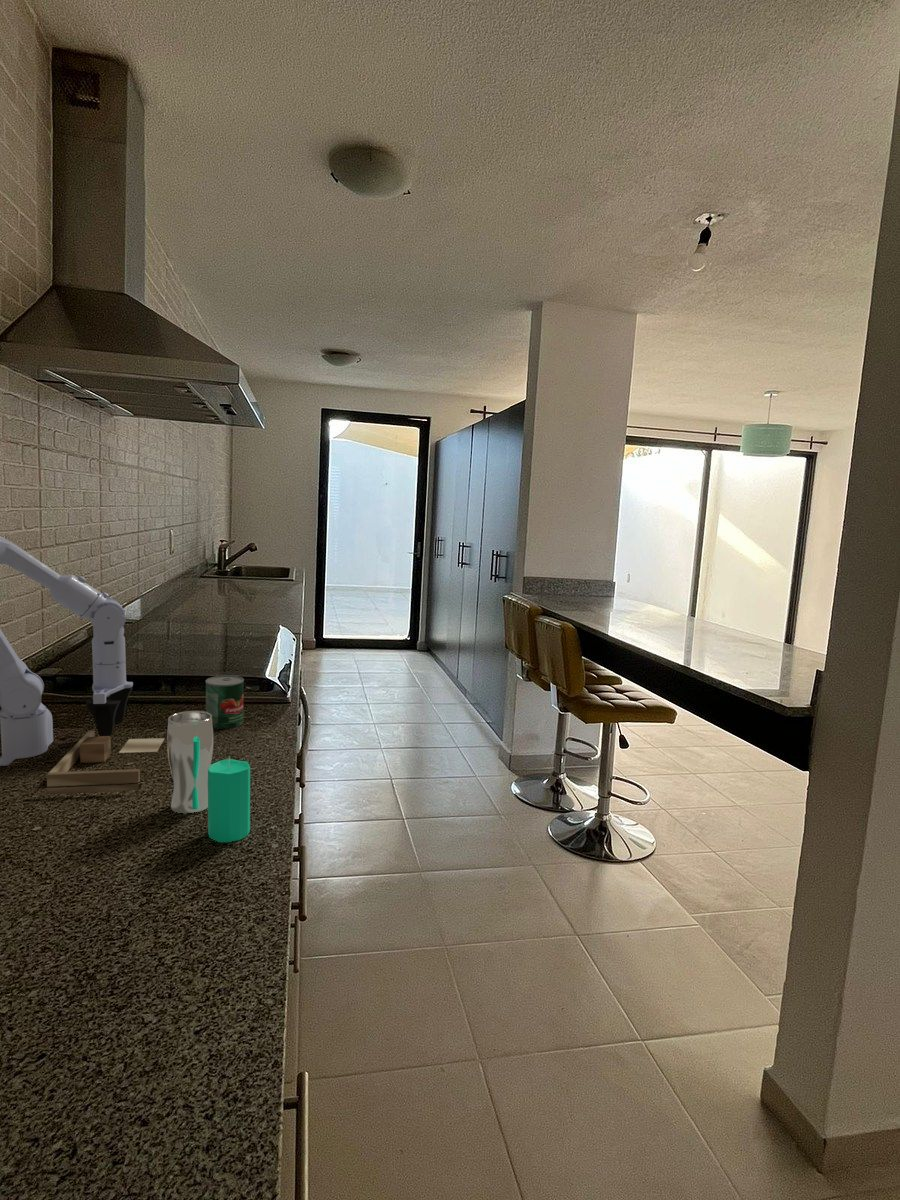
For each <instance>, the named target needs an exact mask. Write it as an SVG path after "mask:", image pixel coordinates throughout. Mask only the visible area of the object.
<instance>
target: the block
mask: <svg viewBox="0 0 900 1200" xmlns="http://www.w3.org/2000/svg"><path fill="white" fill-rule="evenodd" d="M111 739H112V738H111V736H95V737H86V738H85V740H84V741H83V742H82V743H81V744H80V758H79V759H80V761H79V762H80V764H82V763H105V762H106V761H107V759H109V757H110V756H111V754H112V750H111V749H112V747H111V745H112V744H111Z"/></svg>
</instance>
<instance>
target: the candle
mask: <svg viewBox="0 0 900 1200" xmlns="http://www.w3.org/2000/svg"><path fill="white" fill-rule="evenodd" d="M250 831H251V765H250V764H249V762H248V761H246V760H244V761H243V760H238V759H232V758H231V757H230V755H229V756H228V758H227V759H222V760H217V761H216V762H214V763H211V765H210V767H209V768H208V808H207V836H208V835H209V836H208V838H209V839H210V838H211V839H213V840H212V841H214V840H215V841H214V842H216V841H217V843H232V841H233V842H237V841H241V840H243V839H244V838H246V837H247V836H248V835H249V834H250ZM211 839H210V840H211Z"/></svg>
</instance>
